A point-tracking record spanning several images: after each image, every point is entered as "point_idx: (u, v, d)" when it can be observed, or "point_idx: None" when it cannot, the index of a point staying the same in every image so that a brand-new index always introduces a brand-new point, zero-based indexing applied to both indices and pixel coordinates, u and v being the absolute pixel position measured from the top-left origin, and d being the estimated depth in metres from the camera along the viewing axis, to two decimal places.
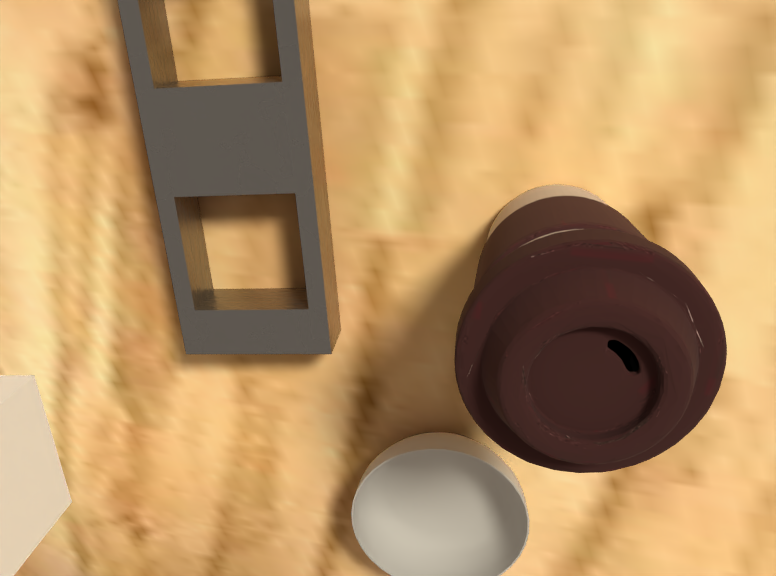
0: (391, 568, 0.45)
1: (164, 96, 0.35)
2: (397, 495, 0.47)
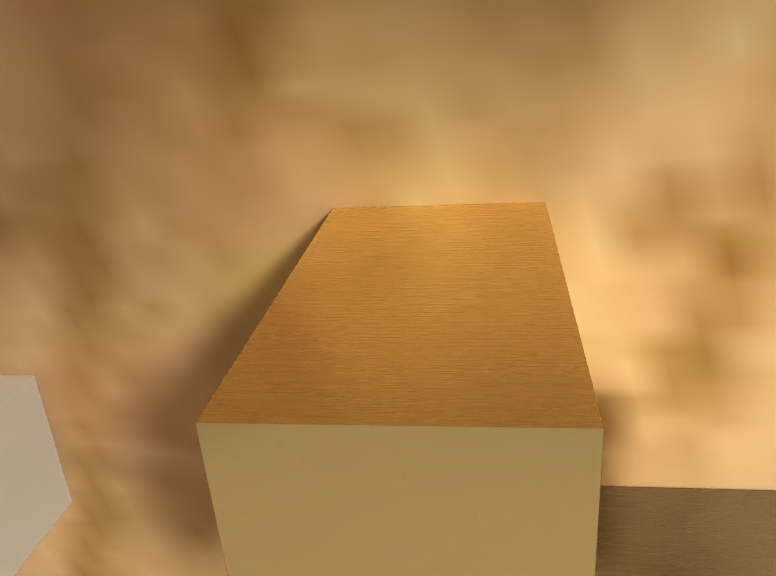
0: None
1: None
2: None
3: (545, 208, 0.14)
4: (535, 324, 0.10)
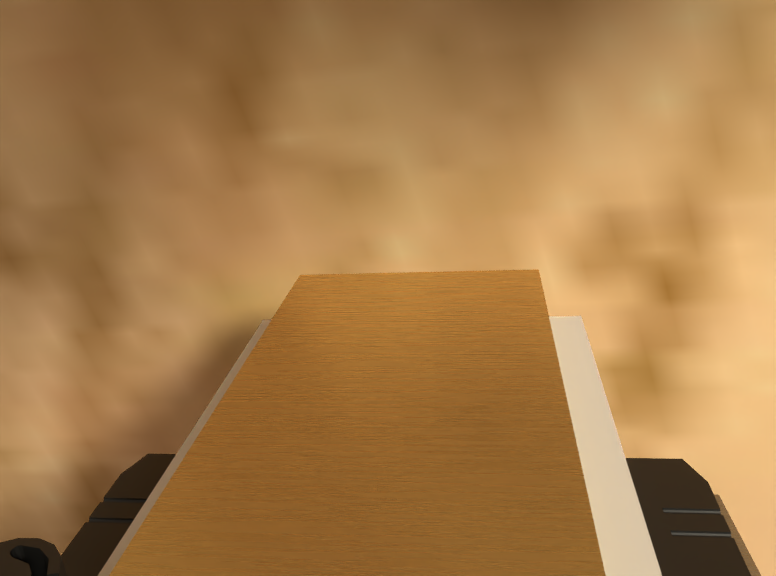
0: None
1: None
2: None
3: (538, 278, 0.13)
4: (527, 447, 0.08)
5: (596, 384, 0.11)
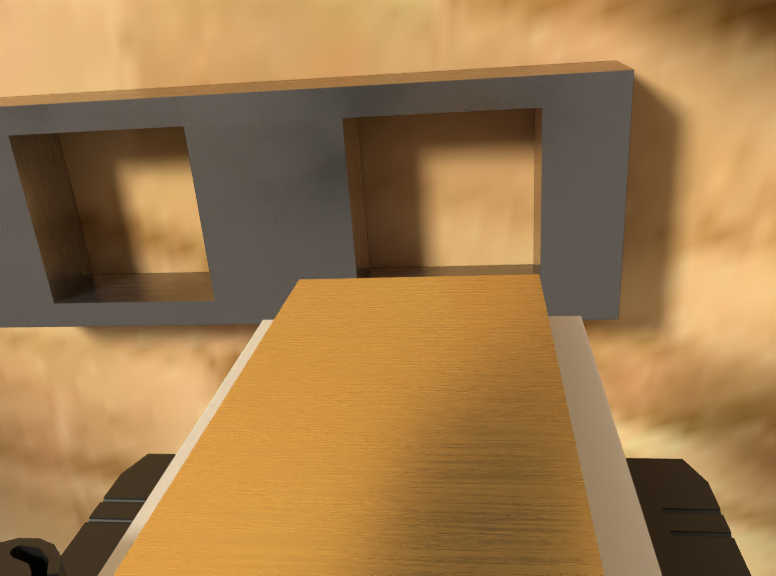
0: None
1: (222, 289, 0.26)
2: None
3: (539, 283, 0.13)
4: (527, 456, 0.08)
5: (596, 384, 0.11)
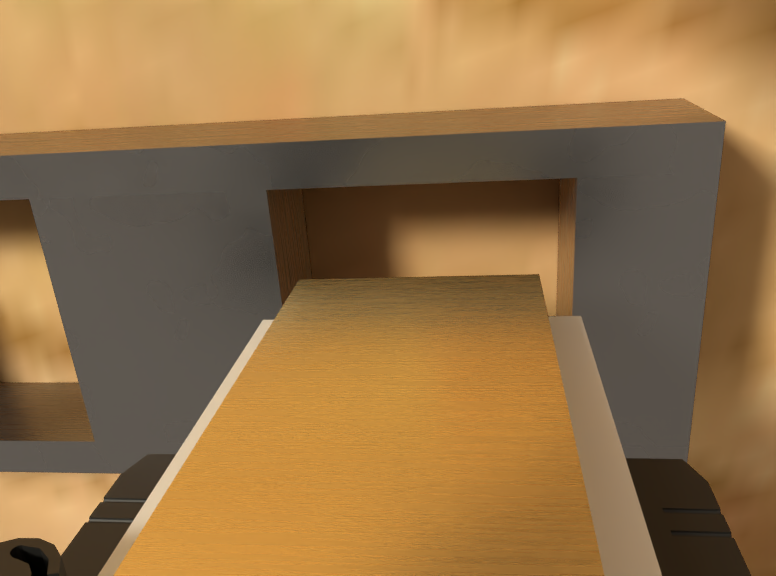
0: None
1: (105, 426, 0.18)
2: None
3: (539, 283, 0.13)
4: (528, 456, 0.08)
5: (596, 384, 0.11)
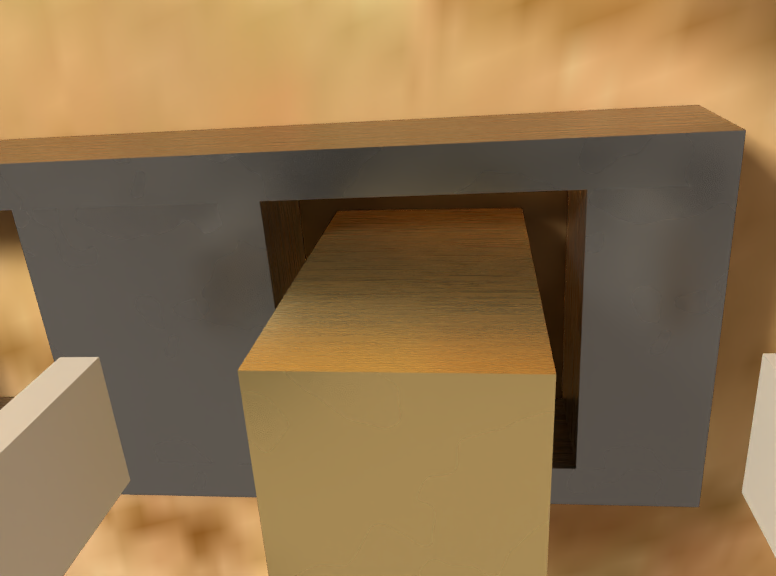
0: None
1: None
2: None
3: (521, 212, 0.17)
4: (508, 302, 0.12)
5: None
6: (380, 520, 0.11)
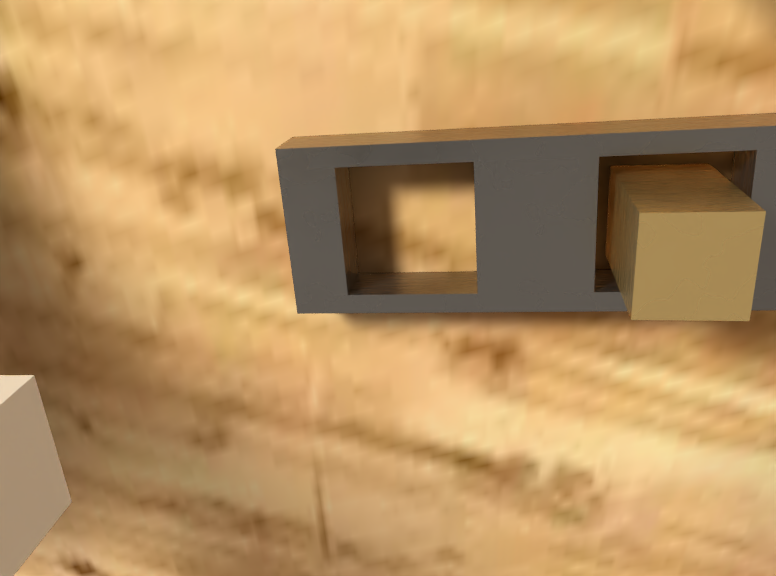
0: None
1: (485, 284, 0.34)
2: None
3: (710, 165, 0.33)
4: (731, 194, 0.29)
5: None
6: (686, 277, 0.28)
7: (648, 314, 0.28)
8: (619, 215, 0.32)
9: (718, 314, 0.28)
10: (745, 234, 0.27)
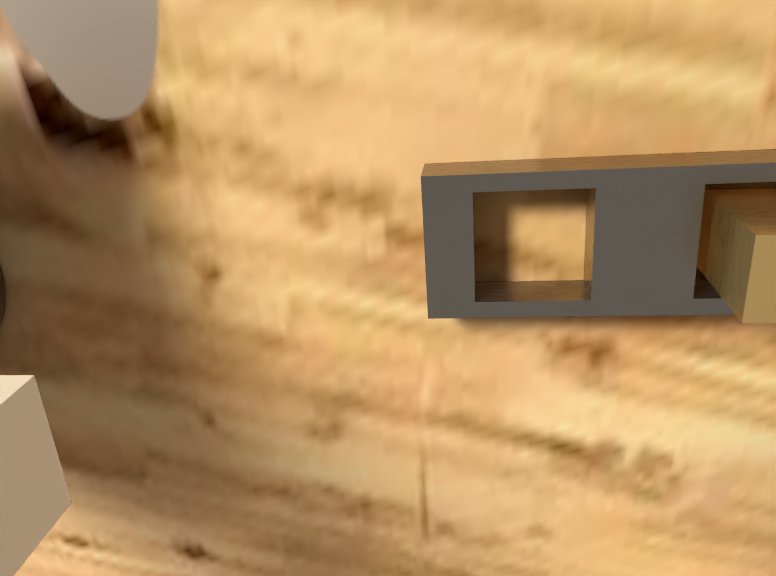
0: None
1: (598, 292, 0.40)
2: None
3: None
4: None
5: None
6: None
7: (756, 318, 0.34)
8: (721, 233, 0.37)
9: None
10: None
